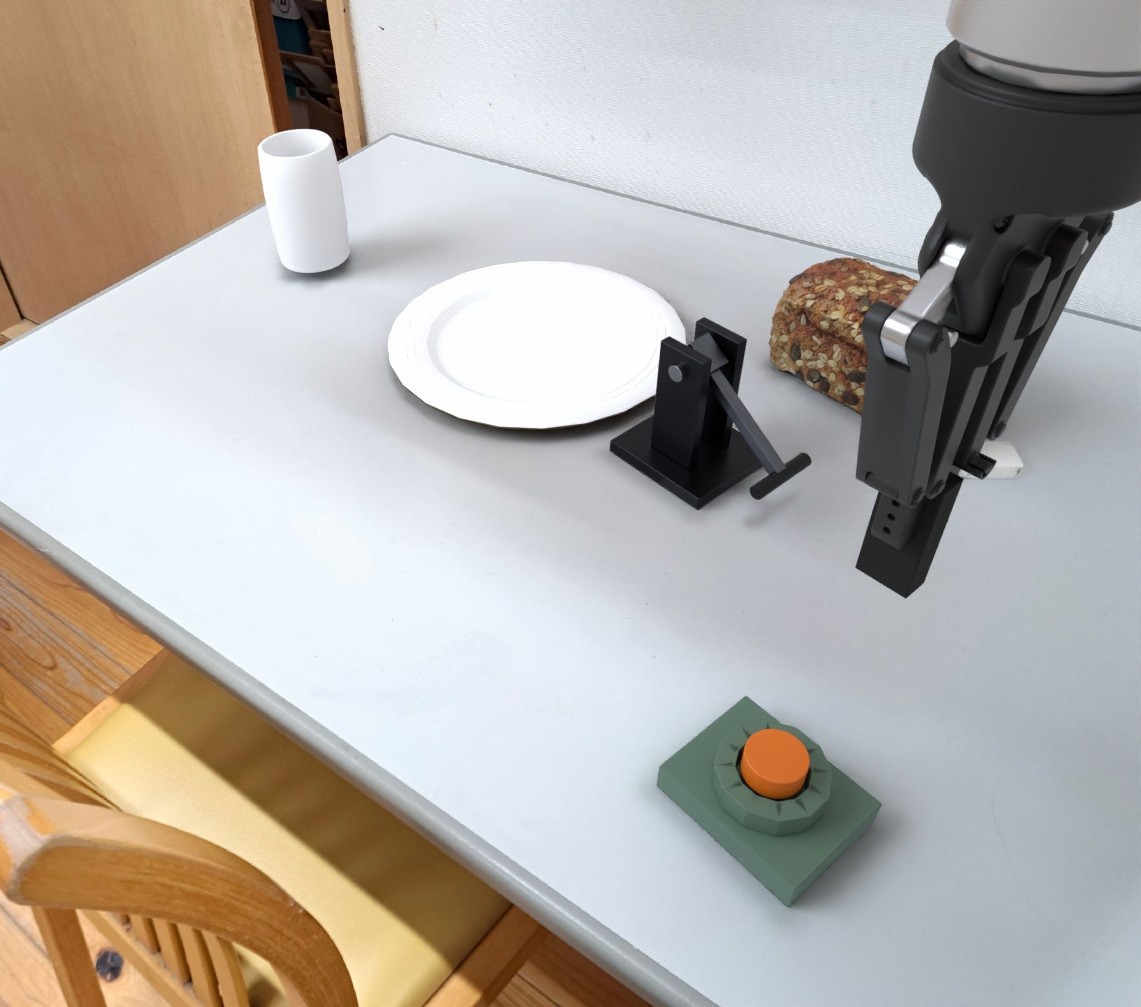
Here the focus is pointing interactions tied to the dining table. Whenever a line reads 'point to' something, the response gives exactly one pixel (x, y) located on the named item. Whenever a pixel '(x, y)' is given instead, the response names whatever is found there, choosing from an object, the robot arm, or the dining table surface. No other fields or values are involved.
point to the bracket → (691, 423)
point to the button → (774, 763)
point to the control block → (767, 804)
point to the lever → (748, 424)
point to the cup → (304, 199)
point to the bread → (832, 324)
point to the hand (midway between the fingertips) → (889, 574)
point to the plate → (533, 344)
